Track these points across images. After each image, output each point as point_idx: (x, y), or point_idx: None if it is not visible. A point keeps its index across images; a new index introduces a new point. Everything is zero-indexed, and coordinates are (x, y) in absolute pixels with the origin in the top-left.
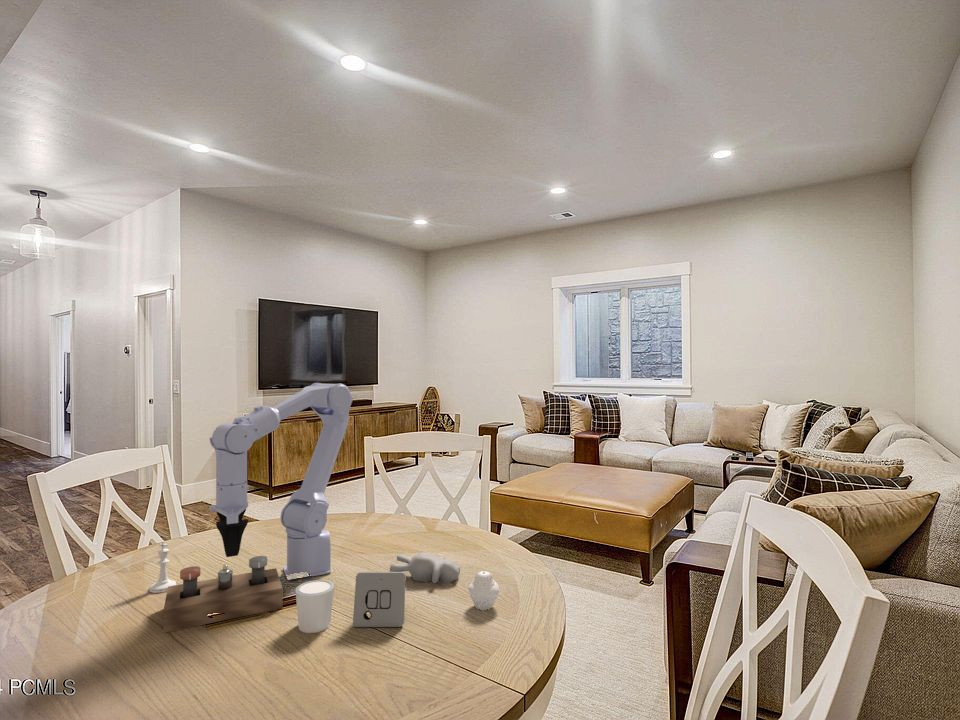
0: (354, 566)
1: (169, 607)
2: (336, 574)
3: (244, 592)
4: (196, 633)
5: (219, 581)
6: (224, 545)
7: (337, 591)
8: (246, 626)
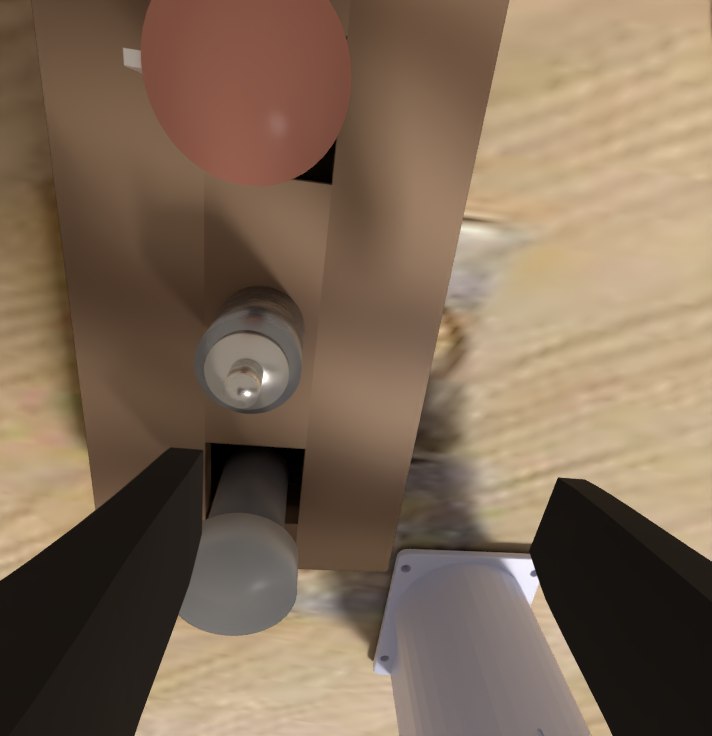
0: (388, 721)
1: None
2: (356, 674)
3: (123, 409)
4: (18, 121)
5: (225, 309)
6: (79, 527)
7: (202, 654)
8: (13, 348)
